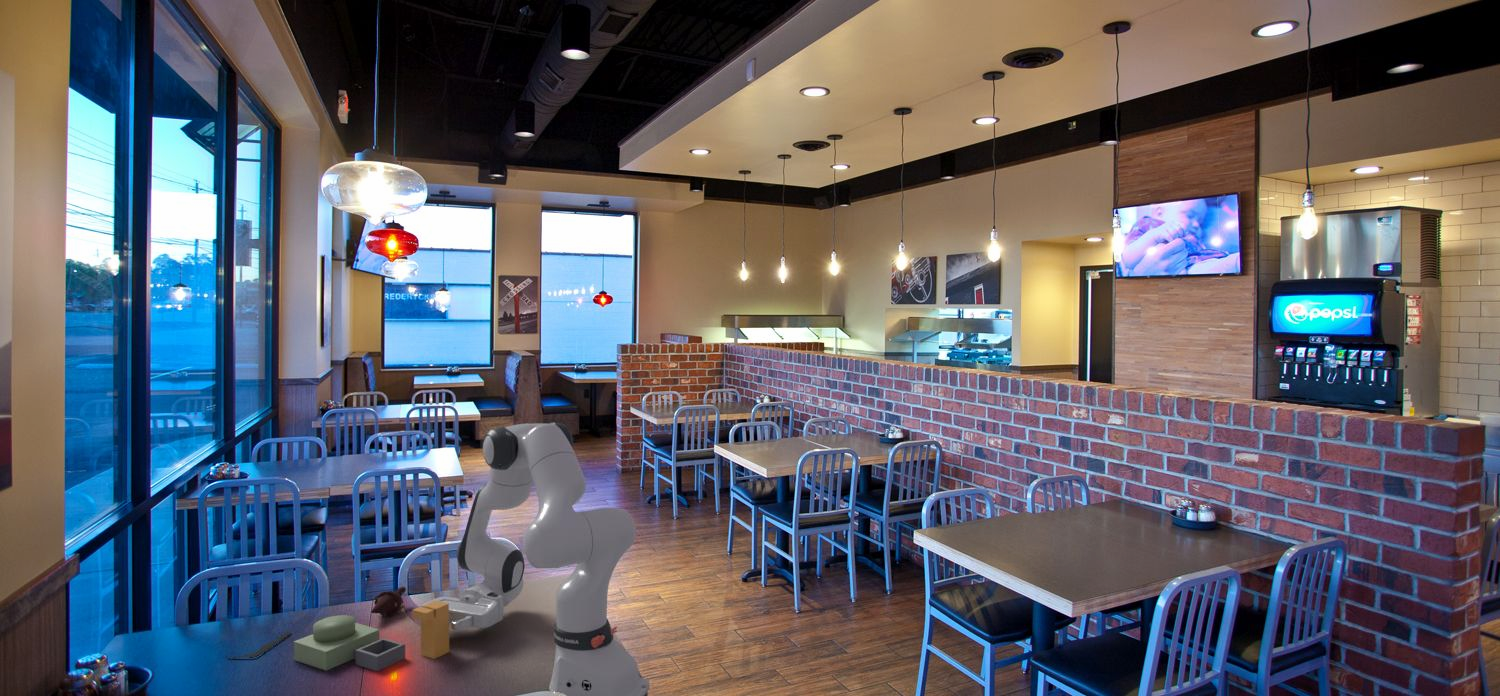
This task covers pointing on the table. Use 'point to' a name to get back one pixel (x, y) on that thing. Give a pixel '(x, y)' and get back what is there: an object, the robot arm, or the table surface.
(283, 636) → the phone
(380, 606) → the dark brown rounded piece
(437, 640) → the tall tan cardboard block
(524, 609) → the table surface
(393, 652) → the green and grey blocks
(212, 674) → the table surface
